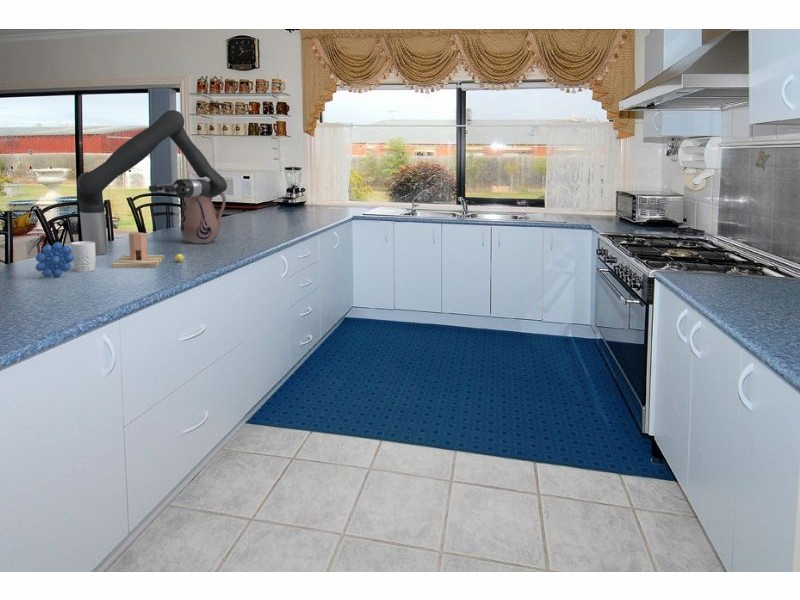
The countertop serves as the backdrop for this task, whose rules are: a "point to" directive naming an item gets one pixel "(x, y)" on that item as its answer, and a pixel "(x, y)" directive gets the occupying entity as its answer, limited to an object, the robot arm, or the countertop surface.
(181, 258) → the mustard ball
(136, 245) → the salmon octagonal post
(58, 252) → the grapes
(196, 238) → the ceramic pitcher
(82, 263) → the white cup
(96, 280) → the countertop surface
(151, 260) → the oak board
